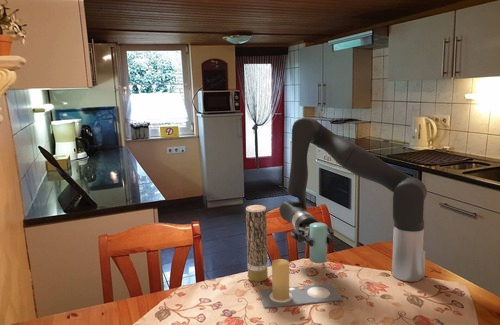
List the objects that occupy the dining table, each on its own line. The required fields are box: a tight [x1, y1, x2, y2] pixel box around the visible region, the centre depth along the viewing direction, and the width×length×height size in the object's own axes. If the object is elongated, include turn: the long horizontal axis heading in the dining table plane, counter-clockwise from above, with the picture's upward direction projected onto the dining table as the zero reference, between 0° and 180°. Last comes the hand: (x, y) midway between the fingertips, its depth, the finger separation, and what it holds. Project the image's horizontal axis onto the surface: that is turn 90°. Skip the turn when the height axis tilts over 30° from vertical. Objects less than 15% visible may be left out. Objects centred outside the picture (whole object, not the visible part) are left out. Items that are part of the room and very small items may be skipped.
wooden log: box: [245, 204, 269, 283], centre depth 123 cm, size 7×7×25 cm
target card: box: [258, 282, 344, 309], centre depth 112 cm, size 24×10×1 cm, turn 98°
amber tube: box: [271, 258, 290, 301], centre depth 111 cm, size 5×5×11 cm
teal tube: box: [309, 222, 328, 264], centre depth 111 cm, size 5×5×11 cm
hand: (321, 242), depth 108 cm, fingers closed on teal tube, 5 cm apart
